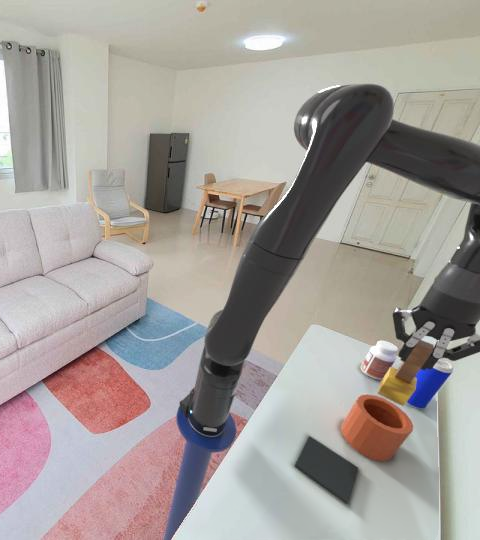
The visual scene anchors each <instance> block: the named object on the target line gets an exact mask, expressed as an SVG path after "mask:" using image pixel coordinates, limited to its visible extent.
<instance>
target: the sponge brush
mask: <svg viewBox="0 0 480 540" xmlns="http://www.w3.org/2000/svg"><path fill="white" fill-rule="evenodd" d="M434 346H435V344H433V343H430V342H428V341H425V340H423V339H422V340H420V341H419V342H418V343H417V344H416V345H415V346H414V349H413V350H412V352H411V353H410V355H409V356H408V358H407V359H406V361H405V362H403V361H401V363H400V365H399V366H398V367H397V368H395V367H393V366H392V367H390V368H389V370H388V371H387V373H386V374H385V376H384V378H383V379H381V381H380V383H379V385H378V389H377V394H378V395H380V396H382V397H383V398H385V399H387V400H390V401H391V402H393V403H395V404H398V405H400V406H401V407H405V405H407V403H406V402H407V401H408V399H409V398H410V397H411V395H412V394H413V393H414V391H415V390H416V383H417V378H415V376H416V374H417V373H418V372H419V370H420V369H421V367H422V366H423V365H424V363H425V362H426V360H427V359H428V358H429V356H430V355H431V353H432V352H433V349H434Z"/></svg>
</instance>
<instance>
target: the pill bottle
mask: <svg viewBox="0 0 480 540" xmlns="http://www.w3.org/2000/svg"><path fill="white" fill-rule="evenodd" d="M375 344H376V345H373V346H371V347H370V349H369V350H368V353H367V354H366V356H365V358H364V360H363V361H362V363H361V365H360V370H361V372H362V373H363V374H365V375H366V376H368V377H370V378H372V379H375V380H382V379H383V378H384V376H385V374H386V373H387V371H388V370H389V368H390V367H393V365H394V364H395V362H396V360H397V355H396V354H397V353H398V350H399V348H398V347H397V346H396V345H395V344H393V343H392V342H389V341H386V340H378V341H377V342H376V343H375Z"/></svg>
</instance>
